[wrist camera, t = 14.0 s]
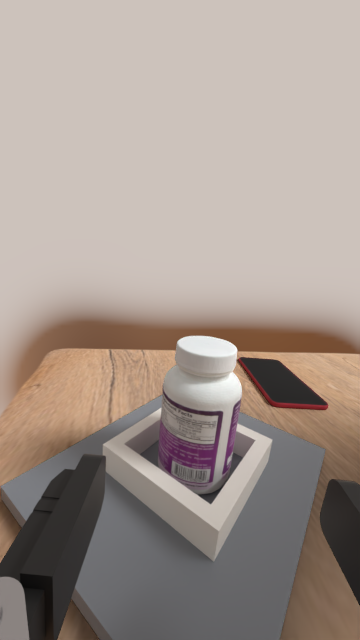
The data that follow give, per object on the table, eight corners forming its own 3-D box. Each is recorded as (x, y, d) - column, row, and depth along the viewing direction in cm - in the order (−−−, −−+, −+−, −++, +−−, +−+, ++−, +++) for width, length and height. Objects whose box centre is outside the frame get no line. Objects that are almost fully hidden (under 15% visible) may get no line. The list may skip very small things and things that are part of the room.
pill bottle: (194, 433, 23) (207, 329, 21) (243, 474, 19) (265, 350, 17) (142, 459, 19) (150, 337, 17) (188, 515, 15) (207, 366, 13)
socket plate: (178, 392, 31) (180, 370, 31) (323, 459, 23) (330, 429, 22) (1, 499, 16) (-2, 459, 16) (232, 829, 7) (248, 770, 7)
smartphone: (278, 359, 45) (331, 406, 31) (277, 364, 46) (330, 413, 31) (237, 356, 45) (272, 403, 30) (236, 361, 45) (271, 409, 30)
